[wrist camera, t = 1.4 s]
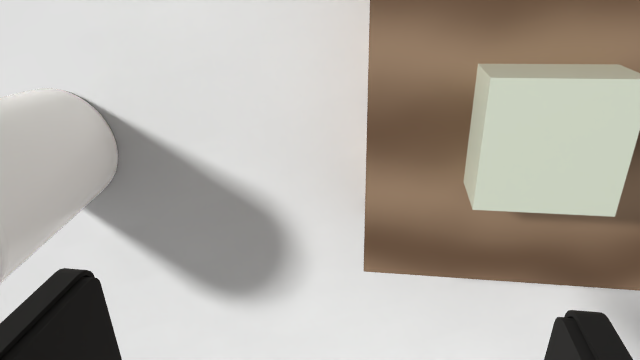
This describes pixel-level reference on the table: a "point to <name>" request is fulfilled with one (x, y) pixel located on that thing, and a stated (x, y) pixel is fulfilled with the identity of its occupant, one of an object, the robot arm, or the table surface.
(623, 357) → the robot arm
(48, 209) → the candle holder
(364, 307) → the table surface
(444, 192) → the brown slab
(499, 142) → the tile
